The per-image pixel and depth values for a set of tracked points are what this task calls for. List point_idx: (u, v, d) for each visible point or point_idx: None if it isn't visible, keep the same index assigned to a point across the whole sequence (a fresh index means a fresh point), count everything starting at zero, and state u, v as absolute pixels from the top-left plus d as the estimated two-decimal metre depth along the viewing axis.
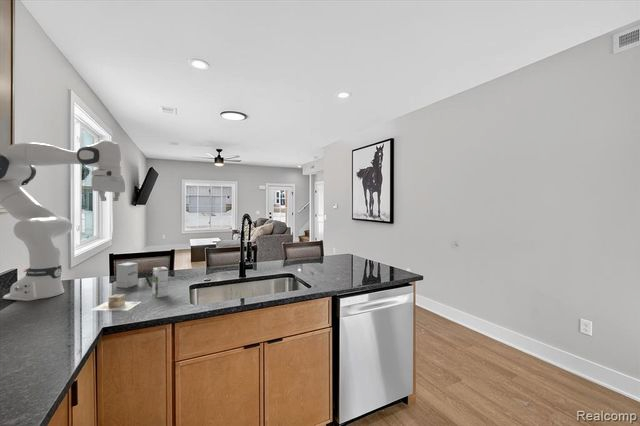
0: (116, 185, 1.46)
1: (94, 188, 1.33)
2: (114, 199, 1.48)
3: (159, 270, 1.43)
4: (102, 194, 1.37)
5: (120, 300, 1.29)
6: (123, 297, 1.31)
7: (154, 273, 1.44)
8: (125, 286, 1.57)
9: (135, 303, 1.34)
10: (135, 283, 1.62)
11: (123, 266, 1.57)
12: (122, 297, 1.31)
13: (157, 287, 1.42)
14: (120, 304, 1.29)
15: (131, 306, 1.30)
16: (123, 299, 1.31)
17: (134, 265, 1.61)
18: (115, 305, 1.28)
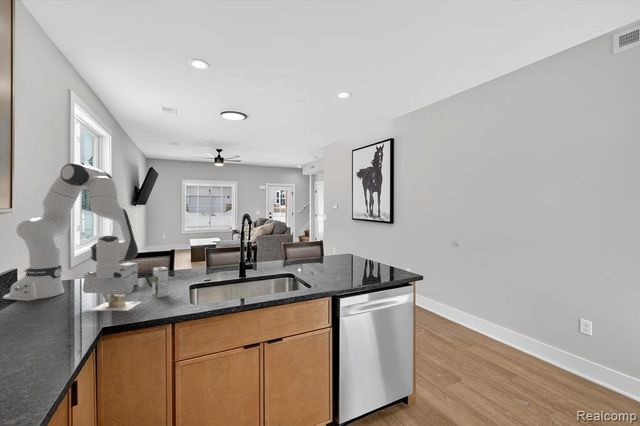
0: None
1: (130, 290, 1.30)
2: None
3: (159, 270, 1.43)
4: None
5: (120, 300, 1.29)
6: (123, 297, 1.31)
7: (154, 273, 1.44)
8: None
9: (135, 303, 1.34)
10: (135, 283, 1.62)
11: (123, 266, 1.57)
12: (122, 297, 1.31)
13: (157, 287, 1.42)
14: (120, 304, 1.29)
15: (131, 306, 1.30)
16: (123, 299, 1.31)
17: (134, 265, 1.61)
18: (115, 305, 1.28)
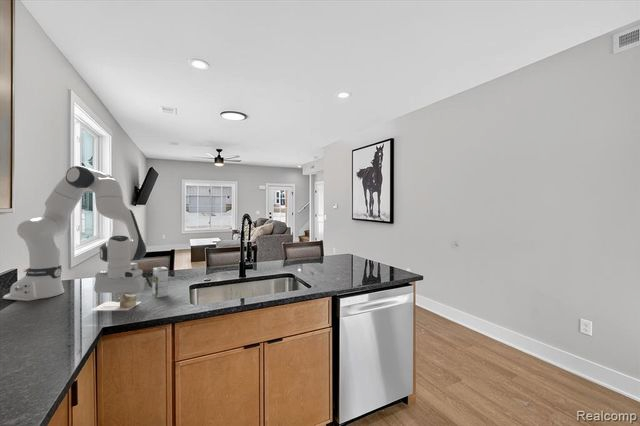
0: None
1: (141, 289, 1.30)
2: (119, 300, 1.30)
3: (159, 270, 1.43)
4: (124, 294, 1.31)
5: (131, 301, 1.29)
6: (134, 297, 1.31)
7: (154, 273, 1.44)
8: None
9: None
10: None
11: None
12: (133, 297, 1.31)
13: (157, 287, 1.42)
14: (131, 304, 1.29)
15: None
16: (134, 299, 1.31)
17: (134, 265, 1.61)
18: (126, 305, 1.28)
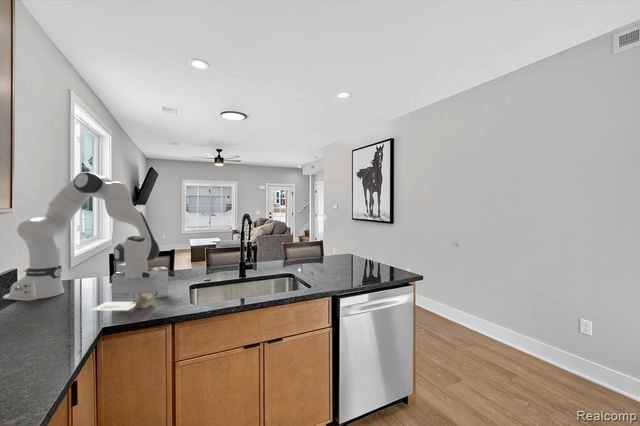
0: None
1: (158, 290, 1.30)
2: (136, 300, 1.30)
3: (159, 270, 1.43)
4: None
5: (148, 302, 1.29)
6: (150, 299, 1.32)
7: None
8: None
9: (135, 303, 1.34)
10: None
11: (123, 266, 1.57)
12: (150, 299, 1.31)
13: None
14: (147, 306, 1.29)
15: (131, 306, 1.30)
16: (150, 301, 1.32)
17: None
18: (142, 306, 1.28)
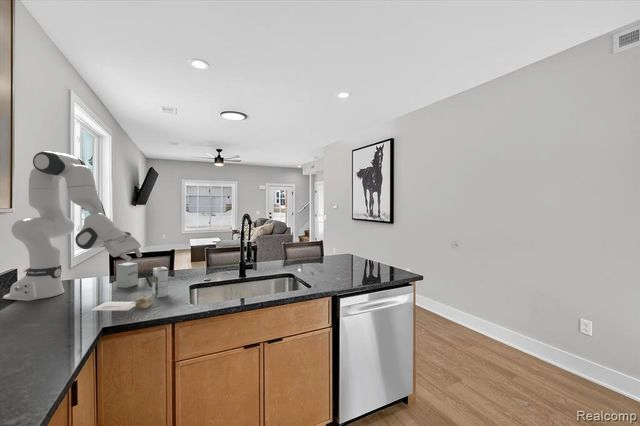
0: None
1: None
2: None
3: (159, 270, 1.43)
4: None
5: (147, 302, 1.29)
6: (149, 299, 1.32)
7: (154, 273, 1.44)
8: (125, 286, 1.57)
9: (135, 303, 1.34)
10: (135, 283, 1.62)
11: (123, 266, 1.57)
12: (148, 299, 1.31)
13: (157, 287, 1.42)
14: (147, 306, 1.30)
15: (131, 306, 1.30)
16: (149, 301, 1.32)
17: (134, 265, 1.61)
18: (142, 307, 1.28)
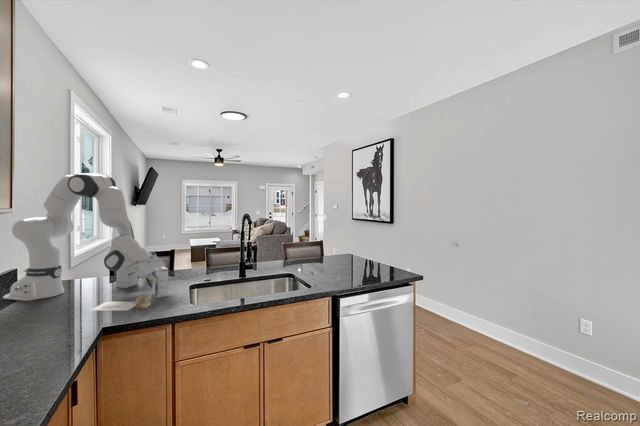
0: None
1: None
2: None
3: (159, 270, 1.43)
4: None
5: (147, 302, 1.29)
6: (149, 299, 1.32)
7: (154, 273, 1.44)
8: (125, 286, 1.57)
9: (135, 303, 1.34)
10: (135, 283, 1.62)
11: None
12: (148, 299, 1.31)
13: (157, 287, 1.42)
14: (147, 306, 1.30)
15: (131, 306, 1.30)
16: (149, 301, 1.32)
17: None
18: (142, 307, 1.28)
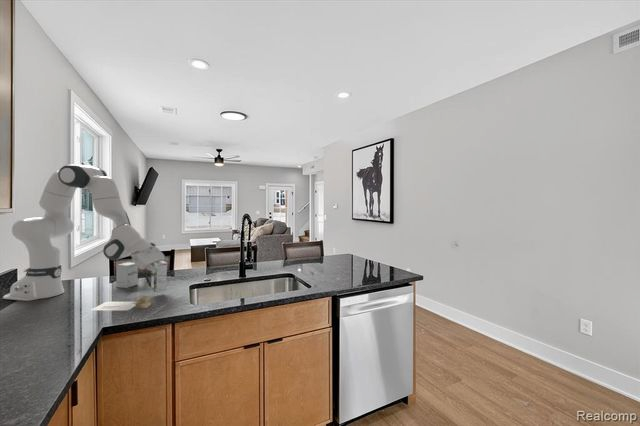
0: None
1: None
2: None
3: (158, 264, 1.43)
4: None
5: (147, 302, 1.29)
6: (149, 299, 1.32)
7: None
8: (125, 286, 1.57)
9: (135, 303, 1.34)
10: (135, 283, 1.62)
11: (123, 266, 1.57)
12: (148, 299, 1.31)
13: (155, 281, 1.42)
14: (147, 306, 1.30)
15: (131, 306, 1.30)
16: (149, 301, 1.32)
17: (134, 265, 1.61)
18: (142, 307, 1.28)
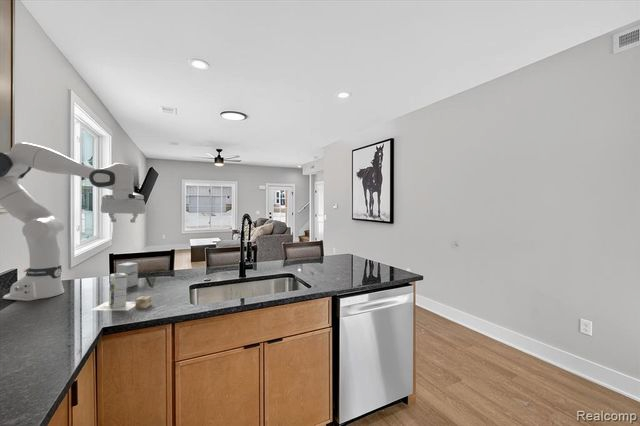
0: None
1: (142, 211, 1.46)
2: (114, 220, 1.46)
3: (115, 277, 1.27)
4: (136, 216, 1.47)
5: (147, 302, 1.29)
6: (149, 299, 1.32)
7: (110, 280, 1.28)
8: None
9: (135, 303, 1.34)
10: (135, 283, 1.62)
11: (123, 266, 1.57)
12: (148, 299, 1.31)
13: (113, 296, 1.27)
14: (147, 306, 1.30)
15: (131, 306, 1.30)
16: (149, 301, 1.32)
17: (134, 265, 1.61)
18: (142, 307, 1.28)
